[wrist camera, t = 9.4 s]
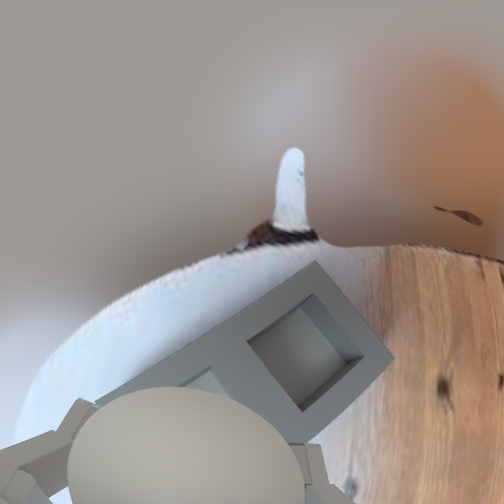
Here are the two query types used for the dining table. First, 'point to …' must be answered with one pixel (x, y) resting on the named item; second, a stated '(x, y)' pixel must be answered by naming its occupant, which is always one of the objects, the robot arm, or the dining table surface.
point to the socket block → (281, 357)
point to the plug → (181, 453)
